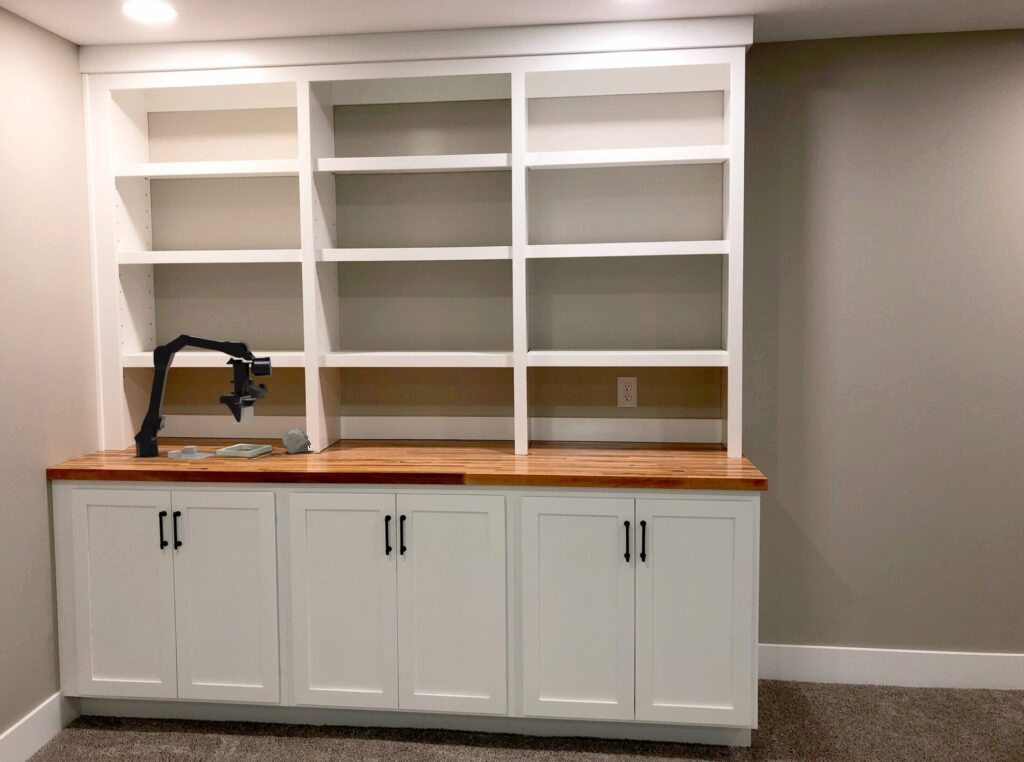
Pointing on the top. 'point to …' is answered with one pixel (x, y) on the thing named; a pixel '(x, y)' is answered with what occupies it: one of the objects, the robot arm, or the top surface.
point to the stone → (296, 441)
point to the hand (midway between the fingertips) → (243, 420)
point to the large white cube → (245, 416)
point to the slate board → (188, 453)
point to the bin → (254, 451)
